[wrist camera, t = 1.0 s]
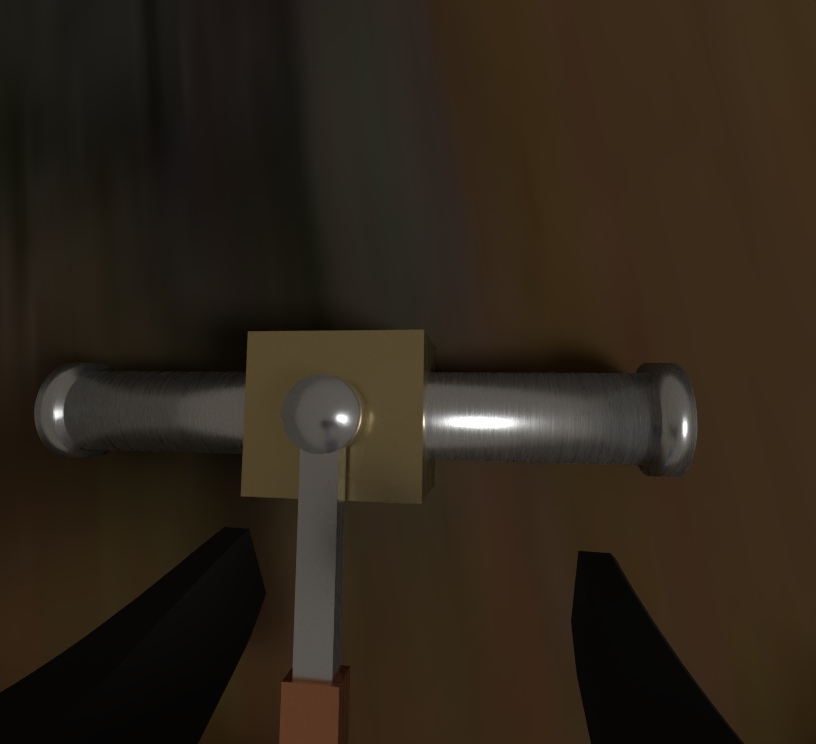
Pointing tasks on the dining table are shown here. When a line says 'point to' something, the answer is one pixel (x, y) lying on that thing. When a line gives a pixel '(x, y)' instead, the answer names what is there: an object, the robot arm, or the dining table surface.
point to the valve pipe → (374, 413)
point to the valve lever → (319, 559)
